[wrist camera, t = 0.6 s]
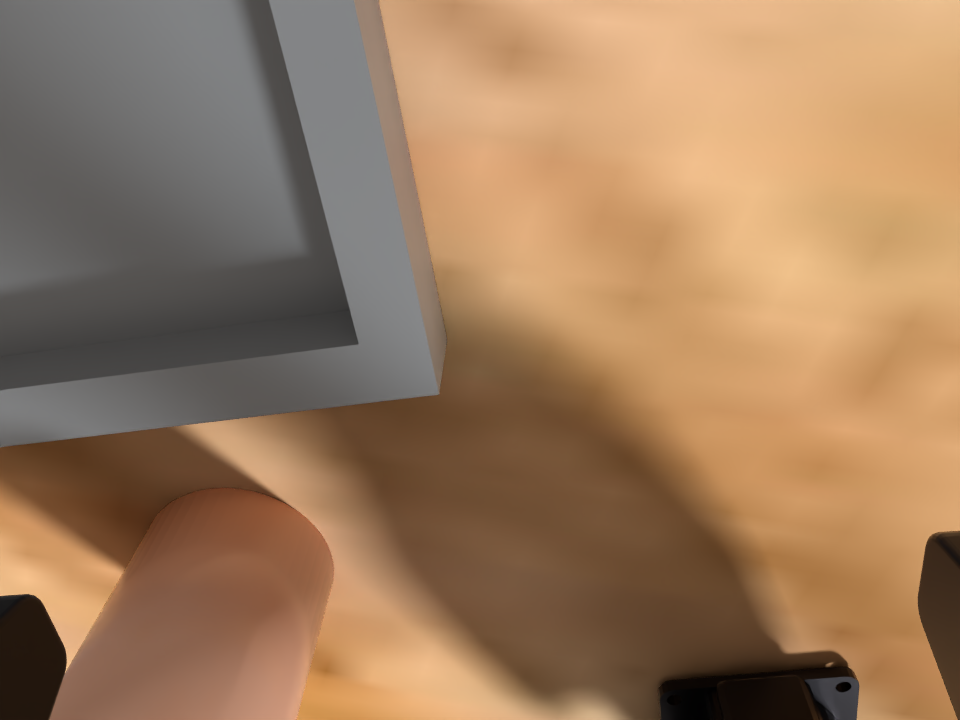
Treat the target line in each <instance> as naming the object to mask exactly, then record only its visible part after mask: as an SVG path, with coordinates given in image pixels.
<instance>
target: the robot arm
mask: <svg viewBox="0 0 960 720" xmlns="http://www.w3.org/2000/svg"><path fill="white" fill-rule="evenodd" d="M918 609H919V615H920V619H921V622H922V625H923V628H924V631H925V633H926V636H927V639H928V641H929V644H930V647H931V649H932V652H933V655H934V657H935V660H936V663H937V665H938V668H939V671H940V673H941V676H942V679H943V681H944V684H945V687H946V689H947V692H948V695H949V697H950V700H951V703H952V705H953V708H954V711H955V713H956V716H957V719H958V720H960V531H950V532H938V533H935V534H933V535H931V536H930V537H929V539H928V541H927V544H926V547H925V554H924V560H923V567H922V573H921V579H920V586H919V592H918ZM66 664H67V659H66V651H65V647H64V645H63V643H62V641H61V639H60V637H59V635H58V633H57V631H56V629H55V627H54V625H53V623H52V621H51V619H50V617H49V615H48V613H47V611H46V609H45V607H44V605H43V603H42V602H41V600H39V599H38V598H37V597H36V596H34V595H30V594H23V595H8V596H0V720H50V717H51V714H52V711H53V708H54V705H55V702H56V699H57V696H58V693H59V690H60V687H61V684H62V681H63V678H64V675H65V670H66ZM858 695H859V683H858V680H857V678H856V675H855V673H854V672H853V671H852V670H851V669H850V668H847V667H831V668H819V669H806V670H794V671H781V672H769V673H756V674H744V675H731V676H718V677H706V678H693V679H681V680H671V681H666V682H664V683H662V684H661V685H660V686H659V688H658V699H659V711H660V720H856V719H857V707H858Z"/></svg>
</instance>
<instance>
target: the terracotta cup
mask: <svg viewBox="0 0 960 720" xmlns="http://www.w3.org/2000/svg"><path fill="white" fill-rule="evenodd" d="M333 577H334V564H333V559H332V555H331V552H330V550H329V547H328V545H327V543H326V541H325V540H324V538H323V536H322V535H321V534H320V532H319V531H318V530H317V528H316V527H315V526H314V525H313V524H312V523H311V522H310V521H309V520H308V519H307V518H306V517H304V516H303V515H302V514H301V513H299V512H298V511H297V510H295V509H293V508H292V507H290V506H289V505H287V504H285V503H283V502H281V501H279V500H277V499H275V498H272V497H269V496H267V495H264V494H261V493H257V492H253V491H249V490H243V489H236V488H212V489H205V490H199V491H196V492H192V493H189V494H186V495H184V496H182V497H180V498H177V499H176V500H174V501H173V502H171V503H169V504H168V505H167V506H166V507H165V508H163V509H162V510H161V511H160V512H159V514H158V515H157V516H156V517H155V519H154V520H153V522H152V524H151V526H150V527H149V529H148V531H147V532H146V534H145V536H144V538H143V539H142V541H141V543H140V545H139V546H138V548H137V550H136V551H135V553H134V555H133V557H132V558H131V560H130V562H129V564H128V565H127V567H126V569H125V570H124V572H123V574H122V576H121V577H120V579H119V581H118V583H117V584H116V586H115V588H114V590H113V591H112V593H111V595H110V596H109V598H108V600H107V602H106V603H105V605H104V607H103V609H102V610H101V612H100V614H99V615H98V617H97V619H96V621H95V622H94V624H93V626H92V628H91V629H90V631H89V633H88V635H87V636H86V638H85V640H84V641H83V643H82V645H81V647H80V648H79V650H78V652H77V654H76V655H75V657H74V659H73V660H72V662H71V664H70V666H69V667H68V669H67V671H66V673H65V675H64V678H63V681H62V684H61V687H60V690H59V693H58V696H57V699H56V702H55V705H54V708H53V711H52V714H51V717H50V720H297V716H298V712H299V708H300V705H301V701H302V697H303V693H304V689H305V686H306V682H307V678H308V674H309V670H310V667H311V663H312V659H313V655H314V652H315V648H316V644H317V640H318V636H319V633H320V629H321V625H322V621H323V618H324V614H325V610H326V606H327V602H328V599H329V595H330V591H331V587H332V584H333Z"/></svg>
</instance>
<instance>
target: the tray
mask: <svg viewBox="0 0 960 720" xmlns="http://www.w3.org/2000/svg"><path fill="white" fill-rule="evenodd" d="M446 345H447V336H446V331H445V326H444V322H443V317H442V312H441V307H440V302H439V297H438V292H437V287H436V282H435V277H434V272H433V267H432V262H431V258H430V253H429V248H428V243H427V238H426V233H425V228H424V223H423V218H422V213H421V208H420V203H419V198H418V194H417V189H416V184H415V179H414V174H413V169H412V164H411V159H410V154H409V149H408V144H407V139H406V134H405V130H404V125H403V120H402V115H401V110H400V105H399V100H398V95H397V90H396V85H395V80H394V75H393V70H392V66H391V61H390V56H389V51H388V46H387V41H386V36H385V31H384V26H383V21H382V16H381V11H380V6H379V2H378V0H0V447H6V446H14V445H23V444H31V443H39V442H48V441H56V440H64V439H73V438H81V437H89V436H98V435H106V434H114V433H123V432H131V431H139V430H148V429H156V428H164V427H173V426H181V425H189V424H198V423H206V422H214V421H223V420H231V419H239V418H248V417H256V416H264V415H273V414H281V413H289V412H298V411H306V410H314V409H323V408H331V407H339V406H348V405H356V404H364V403H373V402H381V401H389V400H398V399H406V398H414V397H423V396H431V395H439V392H440V385H441V378H442V372H443V365H444V359H445V352H446Z"/></svg>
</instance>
